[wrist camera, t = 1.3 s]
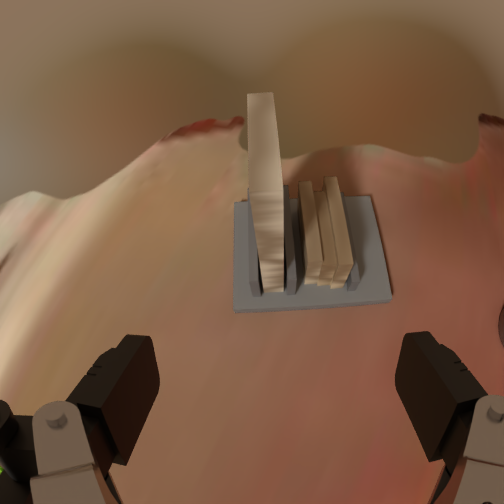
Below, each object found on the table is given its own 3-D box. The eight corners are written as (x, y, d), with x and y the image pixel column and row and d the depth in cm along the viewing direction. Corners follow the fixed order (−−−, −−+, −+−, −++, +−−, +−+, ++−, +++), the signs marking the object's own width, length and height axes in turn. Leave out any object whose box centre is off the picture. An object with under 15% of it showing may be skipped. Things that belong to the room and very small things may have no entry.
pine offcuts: (330, 208, 45) (336, 176, 39) (342, 287, 40) (353, 263, 33) (296, 209, 45) (298, 177, 39) (304, 290, 40) (309, 266, 34)
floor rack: (367, 201, 47) (376, 174, 41) (388, 302, 40) (405, 283, 34) (235, 208, 48) (229, 180, 43) (235, 312, 41) (227, 295, 35)
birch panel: (278, 210, 46) (272, 92, 28) (283, 291, 40) (283, 189, 22) (261, 211, 46) (247, 93, 28) (264, 292, 40) (248, 191, 23)
